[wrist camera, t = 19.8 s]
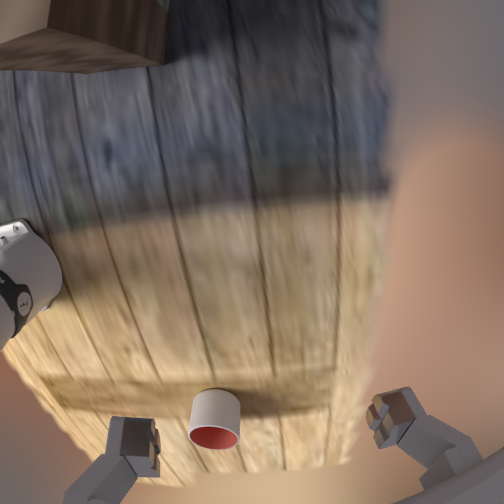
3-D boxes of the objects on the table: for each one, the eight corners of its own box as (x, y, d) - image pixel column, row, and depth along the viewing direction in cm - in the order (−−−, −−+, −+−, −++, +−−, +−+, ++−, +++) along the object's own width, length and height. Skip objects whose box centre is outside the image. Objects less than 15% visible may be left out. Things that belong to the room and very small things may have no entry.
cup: (193, 383, 61) (186, 422, 52) (242, 388, 61) (240, 427, 52) (194, 411, 65) (189, 447, 56) (239, 415, 66) (238, 451, 57)
